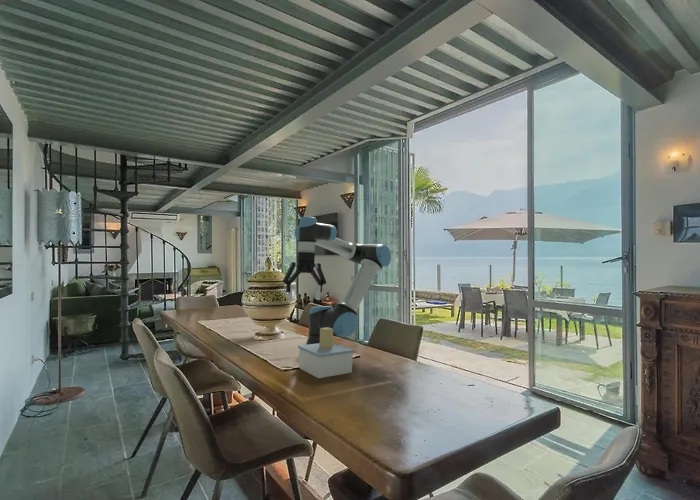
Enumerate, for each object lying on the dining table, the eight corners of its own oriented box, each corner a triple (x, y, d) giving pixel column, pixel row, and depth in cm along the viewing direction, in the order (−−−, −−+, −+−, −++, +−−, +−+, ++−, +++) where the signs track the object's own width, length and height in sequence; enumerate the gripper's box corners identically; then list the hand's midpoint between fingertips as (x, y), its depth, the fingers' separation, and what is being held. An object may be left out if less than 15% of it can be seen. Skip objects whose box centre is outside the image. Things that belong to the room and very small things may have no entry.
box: (330, 364, 170) (331, 344, 170) (351, 374, 157) (352, 352, 157) (298, 369, 161) (299, 348, 161) (318, 380, 148) (319, 356, 148)
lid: (331, 344, 171) (332, 323, 171) (354, 352, 157) (355, 330, 157) (298, 348, 161) (298, 326, 161) (318, 357, 147) (319, 333, 148)
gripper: (327, 253, 179) (324, 298, 178) (276, 250, 166) (274, 299, 165) (335, 253, 173) (332, 300, 172) (283, 250, 160) (280, 301, 159)
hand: (304, 300), depth 169 cm, fingers open, 13 cm apart
